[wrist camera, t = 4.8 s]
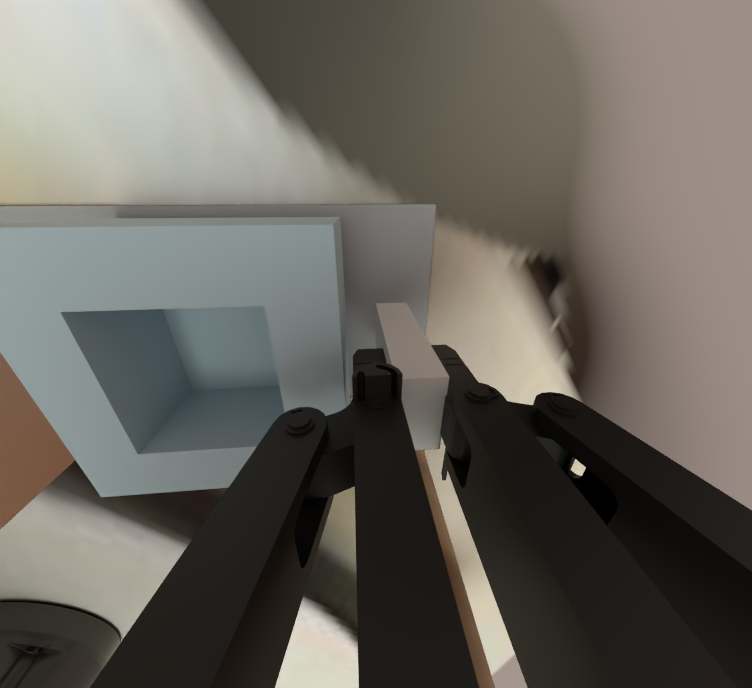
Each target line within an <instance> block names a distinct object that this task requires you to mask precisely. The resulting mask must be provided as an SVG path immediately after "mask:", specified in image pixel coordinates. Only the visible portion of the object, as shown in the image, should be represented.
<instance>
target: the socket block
mask: <svg viewBox="0 0 752 688" xmlns="http://www.w3.org/2000/svg"><path fill="white" fill-rule="evenodd" d="M0 352H1V354H2V355H3V357H4V358H5V360H6V361H7V362H8V364H9V365H10V367H11V368H12V370H13V371H14V373H15V374H16V375H17V377H18V378H19V380H20V381H21V383H22V384H23V385H24V387H25V388H26V390H27V391H28V393H29V394H30V396H31V397H32V398H33V400H34V401H35V403H36V404H37V406H38V407H39V408H40V410H41V411H42V413H43V414H44V416H45V417H46V418H47V420H48V421H49V423H50V424H51V426H52V427H53V429H54V430H55V431H56V433H57V434H58V436H59V437H60V439H61V440H62V441H63V443H64V444H65V446H66V447H67V449H68V450H69V452H70V453H71V454H72V456H73V457H74V459H75V460H76V462H77V463H78V464H79V466H80V467H81V469H82V470H83V472H84V473H85V475H86V476H87V477H88V479H89V480H90V482H91V483H92V485H93V486H94V487H95V489H96V490H97V492H98V493H99V495H100V496H101V497H110V496H124V495H137V494H150V493H163V492H177V491H190V490H203V489H216V488H228V487H229V486H230V485H231V483H232V482H233V480H234V479H235V477H236V476H237V475H238V473H239V472H240V470H241V469H242V467H243V466H244V464H245V463H246V462H247V460H248V459H249V457H250V456H251V454H252V453H253V451H254V450H255V449H256V447H257V446H258V444H259V443H260V441H261V440H262V438H263V437H264V436H265V434H266V433H267V431H268V430H269V428H270V427H271V426H272V424H273V423H274V421H275V420H276V419H277V418H278V417H279V416H280V415H281V414H283V413H285V412H287V411H289V410H291V409H295V408H298V407H312V408H316V409H319V410H320V411H321V412H323V413H324V414H325V416H327V415H330V414H334V413H336V412H339V411H341V410H343V409H344V408H346V407H347V406H348V405H349V404H350V377H349V359H348V341H347V323H346V306H345V288H344V270H343V252H342V235H341V217H233V218H108V219H89V220H70V221H51V222H31V223H12V224H0Z"/></svg>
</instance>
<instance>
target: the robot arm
mask: <svg viewBox="0 0 752 688" xmlns="http://www.w3.org/2000/svg"><path fill="white" fill-rule="evenodd" d="M352 388H353V400H352V401H351V403H350V404H349V405H348V406H347V407H346V408H344V409H343V410H341V411H339V412H336V413H334V414H330V415H327V416H325V414H324V413H323V412H321V411H320V410H319V409H316V408H312V407H298V408H295V409H291V410H289V411H287V412H285V413H283V414H281V415H280V416H279V417H278V418H277V419H276V420H275V421H274V423H273V424H272V426H271V427H270V428H269V430H268V431H267V433H266V434H265V436H264V437H263V438H262V440H261V441H260V443H259V444H258V446H257V447H256V449H255V450H254V451H253V453H252V454H251V456H250V457H249V459H248V460H247V462H246V463H245V464H244V466H243V467H242V469H241V470H240V472H239V473H238V475H237V476H236V477H235V479H234V480H233V482H232V483H231V485H230V486H229V487H228V489H227V490H226V492H225V493H224V495H223V496H222V498H221V499H220V500H219V502H218V503H217V505H216V506H215V508H214V509H213V511H212V512H211V513H210V515H209V516H208V518H207V519H206V521H205V522H204V524H203V525H202V526H201V528H200V529H199V531H198V532H197V534H196V535H195V536H194V538H193V539H192V541H191V542H190V544H189V545H188V547H187V548H186V549H185V551H184V552H183V554H182V555H181V557H180V558H179V560H178V561H177V562H176V564H175V565H174V567H173V568H172V570H171V571H170V573H169V574H168V575H167V577H166V578H165V580H164V581H163V583H162V584H161V585H160V587H159V588H158V590H157V591H156V593H155V594H154V596H153V597H152V598H151V600H150V601H149V603H148V604H147V606H146V607H145V609H144V610H143V611H142V613H141V614H140V616H139V617H138V619H137V620H136V622H135V623H134V624H133V626H132V627H131V629H130V630H129V632H128V633H127V634H126V636H125V637H124V639H123V640H122V642H121V643H120V638H119V635H118V633H117V632H116V631H115V630H114V629H113V628H112V627H111V626H110V625H108V624H107V623H105V622H103V621H101V620H100V619H97V618H95V617H93V616H90V615H88V614H85V613H82V612H79V611H75V610H72V609H68V608H63V607H58V606H53V605H46V604H38V603H26V602H0V688H275V685H276V682H277V679H278V675H279V672H280V669H281V666H282V662H283V659H284V656H285V653H286V649H287V646H288V643H289V640H290V636H291V633H292V630H293V627H294V624H295V620H296V617H297V614H298V611H299V607H300V604H301V601H302V598H303V594H304V591H305V588H306V585H307V582H308V578H309V575H310V572H311V569H312V565H313V562H314V559H315V556H316V552H317V549H318V546H319V543H320V540H321V536H322V533H323V530H324V527H325V523H326V520H327V517H328V514H329V510H330V507H331V504H332V501H333V497H334V494H337V493H339V492H342V491H344V490H347V489H349V488H351V487H354V486H355V517H356V566H357V615H358V664H359V688H479V685H478V681H477V677H476V674H475V670H474V666H473V663H472V659H471V655H470V652H469V648H468V644H467V640H466V637H465V633H464V629H463V626H462V622H461V618H460V615H459V611H458V607H457V603H456V600H455V596H454V592H453V589H452V585H451V581H450V578H449V574H448V570H447V566H446V563H445V559H444V555H443V552H442V548H441V544H440V541H439V537H438V533H437V529H436V526H435V522H434V518H433V515H432V511H431V507H430V504H429V500H428V496H427V492H426V489H425V485H424V481H423V478H422V474H421V470H420V467H419V463H418V459H417V455H416V452H415V450H428V449H439V447H440V440H441V436H442V439H443V441H444V444H445V446H446V448H445V455H444V461H443V468H442V480H446V476H447V470H448V472H449V475H450V478H451V480H452V483H453V486H454V489H455V491H456V494H457V497H458V499H459V502H460V505H461V508H462V510H463V513H464V516H465V519H466V521H467V524H468V527H469V529H470V532H471V535H472V538H473V540H474V543H475V546H476V548H477V551H478V554H479V557H480V559H481V562H482V565H483V567H484V570H485V573H486V576H487V578H488V581H489V584H490V586H491V589H492V592H493V595H494V597H495V600H496V603H497V605H498V608H499V611H500V614H501V616H502V619H503V622H504V624H505V627H506V630H507V633H508V635H509V638H510V641H511V643H512V646H513V649H514V652H515V654H516V657H517V660H518V662H519V665H520V668H521V671H522V673H523V676H524V679H525V682H526V684H527V687H528V688H752V510H750V509H749V508H747V507H745V506H744V505H742V504H740V503H739V502H738V501H736V500H734V499H733V498H731V497H730V496H728V495H727V494H725V493H723V492H722V491H720V490H719V489H717V488H715V487H714V486H712V485H711V484H709V483H708V482H706V481H704V480H703V479H701V478H700V477H698V476H697V475H695V474H693V473H692V472H690V471H689V470H687V469H686V468H684V467H682V466H681V465H679V464H678V463H676V462H674V461H673V460H671V459H670V458H668V457H667V456H665V455H664V454H662V453H660V452H659V451H657V450H656V449H654V448H653V447H651V446H649V445H648V444H646V443H644V442H643V441H642V440H640V439H638V438H637V437H635V436H634V435H632V434H631V433H629V432H627V431H626V430H624V429H623V428H621V427H619V426H618V425H616V424H615V423H613V422H611V421H610V420H608V419H607V418H605V417H604V416H602V415H601V414H599V413H597V412H596V411H594V410H593V409H591V408H590V407H588V406H586V405H585V404H583V403H582V402H580V401H578V400H576V399H574V398H572V397H569V396H566V395H564V394H560V393H552V392H548V393H541V394H539V395H537V396H536V398H535V401H534V404H533V405H526V404H520V403H513V402H508V401H507V400H506V399H505V398H504V397H503V395H502V394H501V393H500V392H499V391H497V390H496V389H495V388H493V387H491V386H489V385H486V384H483V383H479V382H478V381H477V380H476V379H475V377H474V376H473V374H472V373H471V372H470V370H469V369H468V368H467V366H466V365H465V364H464V362H463V361H462V359H460V357H459V355H458V354H457V353H456V351H455V350H453V349H452V348H450V347H448V346H447V345H431V344H430V343H429V341H428V339H427V338H426V336H425V334H424V332H423V331H422V329H421V327H420V326H419V324H418V322H417V320H416V319H415V317H414V315H413V314H412V312H411V310H410V308H409V307H408V305H407V303H376V348H375V349H358V350H357V351H356V352H355V354H354V355H353V375H352ZM575 459H577V460H578V461H579V462H580V463H581V464H583V465H584V466H585V467H586V469H585V471H584V473H583V475H582V476H579V475H576V474H575V473H574V472H572V471H571V470H570V469H571V467H572V465H573V463H574V461H575ZM119 644H120V645H119Z"/></svg>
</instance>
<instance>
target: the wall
mask: <svg viewBox="0 0 752 688" xmlns="http://www.w3.org/2000/svg"><path fill="white" fill-rule="evenodd" d="M74 461H75V459H74V457H73V456H72V454H71V453H70V452H69V450H68V449H67V447H66V446H65V444H64V443H63V441H62V440H61V439H60V437H59V436H58V434H57V433H56V431H55V430H54V429H53V427H52V426H51V424H50V423H49V421H48V420H47V418H46V417H45V416H44V414H43V413H42V411H41V410H40V408H39V407H38V406H37V404H36V403H35V401H34V400H33V398H32V397H31V396H30V394H29V393H28V391H27V390H26V388H25V387H24V385H23V384H22V383H21V381H20V380H19V378H18V377H17V375H16V374H15V373H14V371H13V370H12V368H11V367H10V365H9V364H8V362H7V361H6V360H5V358H4V357H3V355H2V354H1V352H0V529H1V528H2V527H3V526H4V525H5V524H7V523H8V522H9V521H10V520H11V519H12V518H13V517H14V516H15V515H16V514H17V513H18V512H20V511H21V510H22V509H23V508H24V507H25V506H26V505H27V504H28V503H29V502H30V501H31V500H33V499H34V498H35V497H36V496H37V495H38V494H39V493H40V492H41V491H42V490H43V489H44V488H46V487H47V486H48V485H49V484H50V483H51V482H52V481H53V480H54V479H55V478H56V477H57V476H59V475H60V474H61V473H62V472H63V471H64V470H65V469H66V468H67V467H68V466H69V465H70V464H72V463H73V462H74Z"/></svg>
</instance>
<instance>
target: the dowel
mask: <svg viewBox="0 0 752 688" xmlns="http://www.w3.org/2000/svg"><path fill="white" fill-rule="evenodd" d="M415 452H416V455H417V459H418V463H419V467H420V470H421V474H422V478H423V481H424V485H425V489H426V492H427V496H428V500H429V504H430V507H431V511H432V515H433V518H434V522H435V526H436V529H437V533H438V537H439V541H440V544H441V548H442V552H443V555H444V559H445V563H446V566H447V570H448V574H449V578H450V581H451V585H452V589H453V592H454V596H455V600H456V603H457V607H458V611H459V615H460V618H461V622H462V626H463V629H464V633H465V637H466V640H467V644H468V648H469V652H470V655H471V659H472V663H473V666H474V670H475V674H476V677H477V681H478V685H479V688H495V686H494V683H493V680H492V676H491V673H490V670H489V666H488V663H487V660H486V656H485V653H484V650H483V646H482V643H481V640H480V636H479V633H478V630H477V626H476V623H475V620H474V616H473V613H472V610H471V606H470V603H469V600H468V596H467V593H466V590H465V586H464V583H463V580H462V576H461V573H460V570H459V566H458V563H457V560H456V556H455V553H454V550H453V546H452V543H451V540H450V536H449V533H448V530H447V526H446V523H445V520H444V516H443V513H442V510H441V506H440V503H439V500H438V496H437V493H436V490H435V486H434V483H433V480H432V476H431V473H430V470H429V466H428V463H427V460H426V456H425V453H424V450H415Z"/></svg>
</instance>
